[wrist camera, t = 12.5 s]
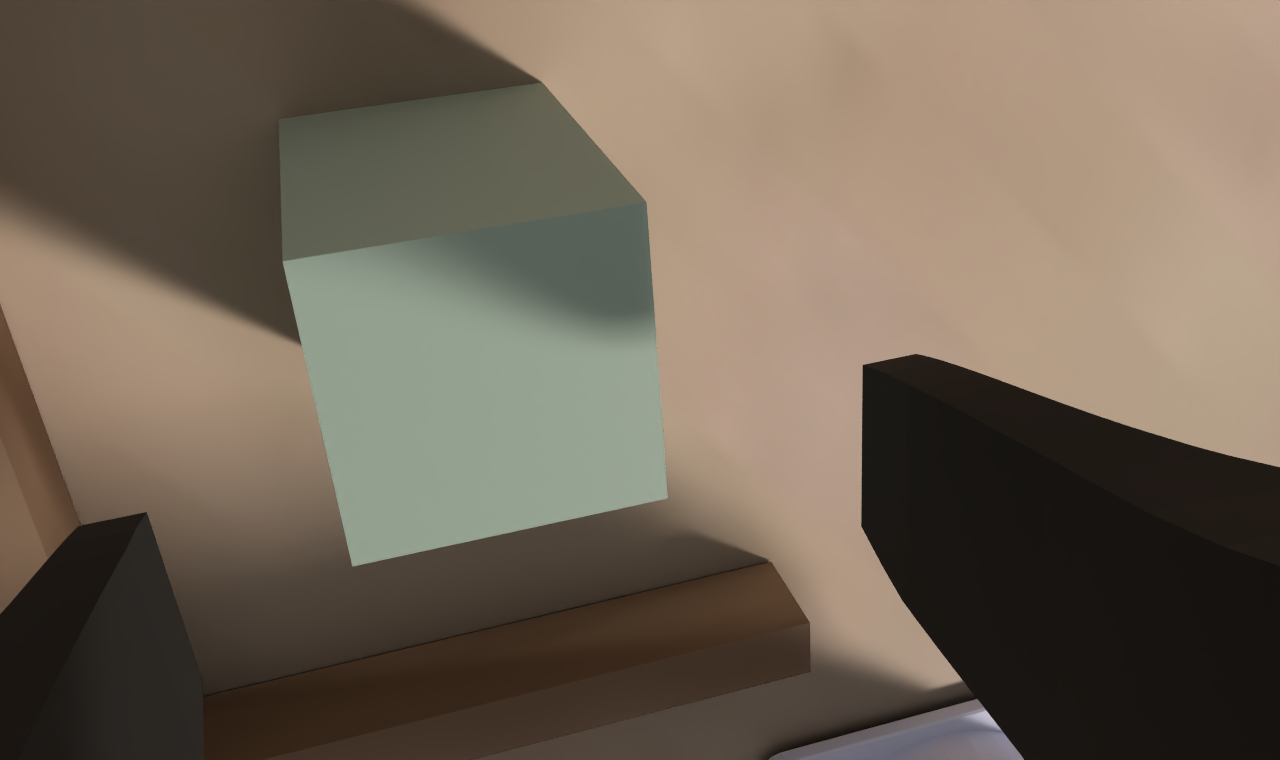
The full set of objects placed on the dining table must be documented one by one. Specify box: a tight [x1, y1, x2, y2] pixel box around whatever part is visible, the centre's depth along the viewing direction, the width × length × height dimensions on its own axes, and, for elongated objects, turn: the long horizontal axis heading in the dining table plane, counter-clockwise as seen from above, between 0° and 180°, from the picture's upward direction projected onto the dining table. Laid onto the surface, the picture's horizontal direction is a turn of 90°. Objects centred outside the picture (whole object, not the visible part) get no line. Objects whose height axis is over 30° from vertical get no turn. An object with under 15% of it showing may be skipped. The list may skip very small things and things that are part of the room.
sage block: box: [279, 82, 668, 567], centre depth 17 cm, size 4×4×6 cm
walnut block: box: [0, 306, 810, 760], centre depth 18 cm, size 18×13×2 cm
